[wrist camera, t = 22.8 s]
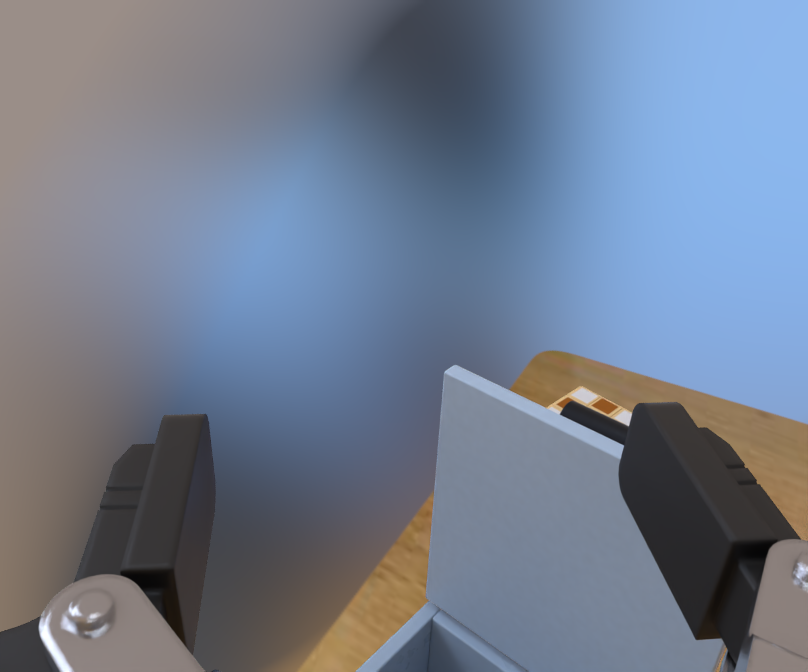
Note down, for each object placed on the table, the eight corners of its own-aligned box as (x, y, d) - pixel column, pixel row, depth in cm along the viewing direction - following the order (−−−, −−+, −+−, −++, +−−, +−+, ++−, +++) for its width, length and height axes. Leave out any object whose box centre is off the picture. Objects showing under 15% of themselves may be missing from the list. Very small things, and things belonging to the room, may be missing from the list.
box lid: (770, 531, 20) (811, 463, 23) (443, 371, 27) (504, 331, 29) (672, 774, 26) (712, 698, 29) (424, 598, 33) (476, 548, 35)
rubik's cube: (588, 513, 52) (601, 452, 49) (525, 473, 55) (535, 414, 52) (630, 478, 55) (645, 419, 52) (569, 442, 59) (580, 385, 56)
